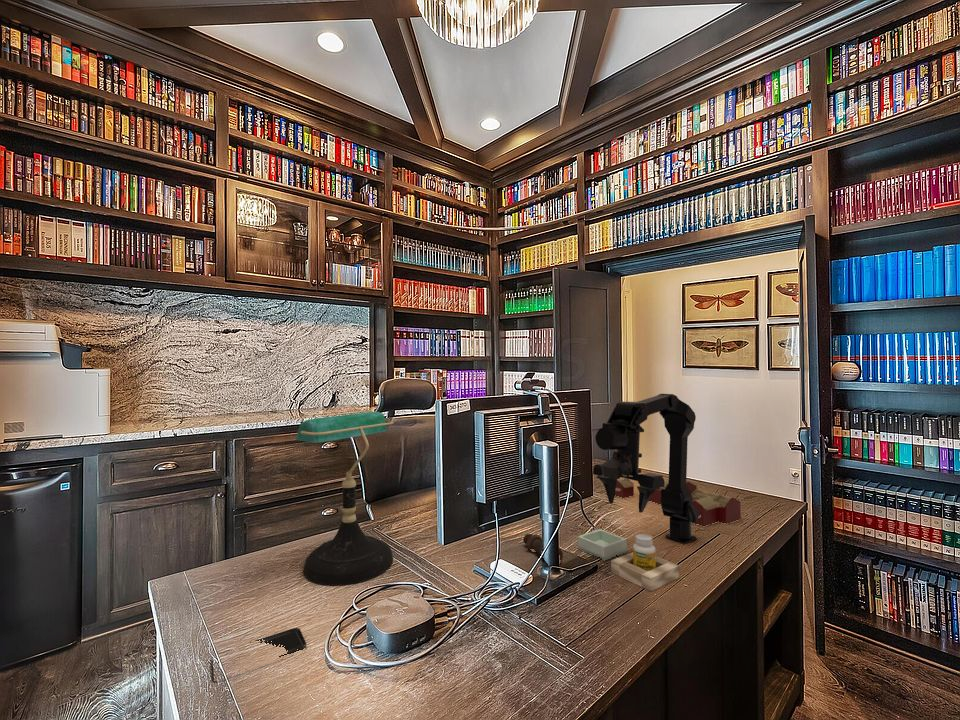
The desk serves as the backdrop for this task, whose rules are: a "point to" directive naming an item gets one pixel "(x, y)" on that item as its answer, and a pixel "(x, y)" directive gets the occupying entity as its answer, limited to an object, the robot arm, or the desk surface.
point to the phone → (287, 640)
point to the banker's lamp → (346, 510)
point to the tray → (602, 544)
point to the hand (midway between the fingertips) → (625, 507)
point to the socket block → (645, 572)
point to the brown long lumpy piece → (536, 543)
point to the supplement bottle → (644, 552)
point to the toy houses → (694, 502)
